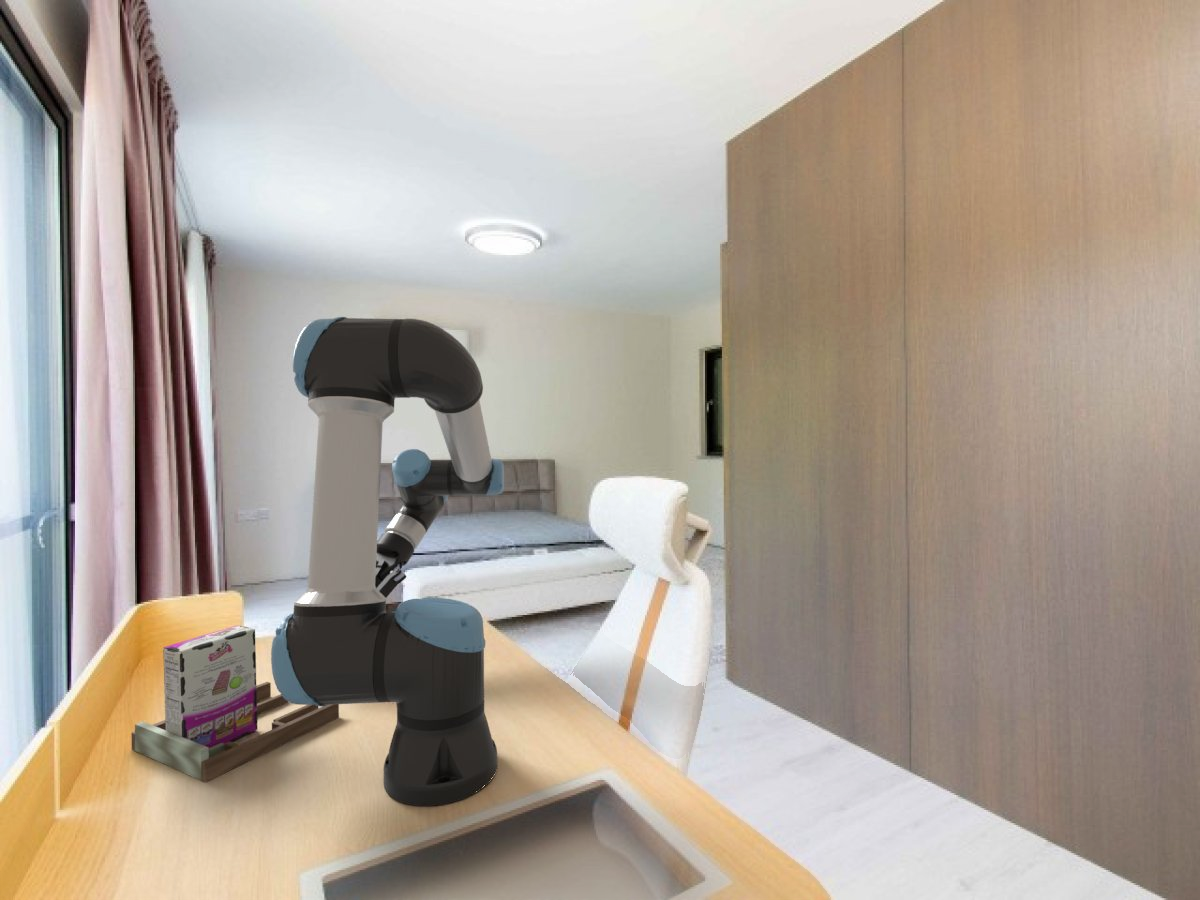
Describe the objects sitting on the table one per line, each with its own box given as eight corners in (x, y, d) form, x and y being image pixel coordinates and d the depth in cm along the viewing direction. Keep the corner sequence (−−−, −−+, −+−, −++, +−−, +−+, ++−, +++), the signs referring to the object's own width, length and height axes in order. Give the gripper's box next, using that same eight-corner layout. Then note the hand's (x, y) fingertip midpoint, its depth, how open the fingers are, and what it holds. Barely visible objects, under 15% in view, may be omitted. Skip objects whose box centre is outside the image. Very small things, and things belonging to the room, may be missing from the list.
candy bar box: (238, 724, 95) (237, 623, 94) (258, 730, 92) (257, 628, 92) (162, 757, 84) (161, 645, 84) (183, 765, 82) (182, 650, 82)
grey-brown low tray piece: (338, 717, 97) (338, 693, 97) (205, 782, 78) (205, 752, 78) (267, 695, 105) (267, 673, 105) (131, 749, 87) (131, 722, 87)
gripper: (432, 554, 121) (367, 660, 106) (386, 549, 127) (319, 649, 112) (413, 532, 116) (343, 639, 101) (366, 528, 122) (294, 629, 107)
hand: (330, 644), depth 107 cm, fingers closed
